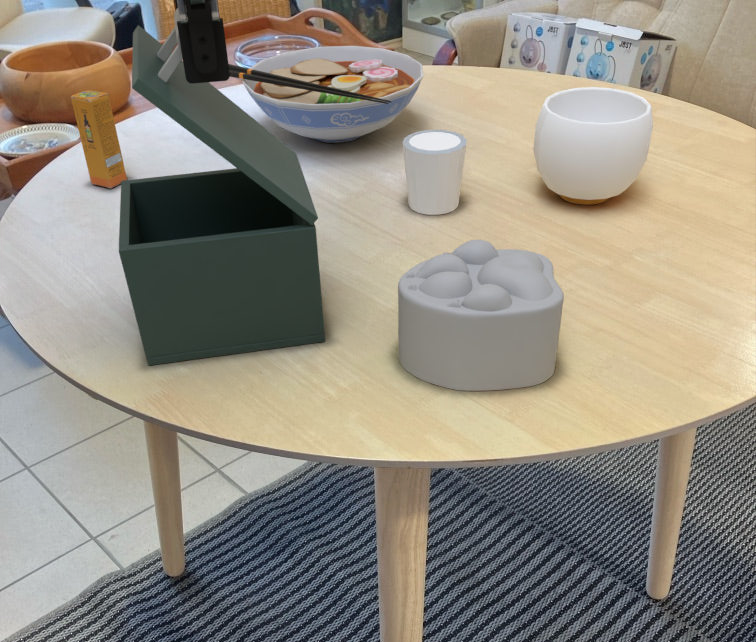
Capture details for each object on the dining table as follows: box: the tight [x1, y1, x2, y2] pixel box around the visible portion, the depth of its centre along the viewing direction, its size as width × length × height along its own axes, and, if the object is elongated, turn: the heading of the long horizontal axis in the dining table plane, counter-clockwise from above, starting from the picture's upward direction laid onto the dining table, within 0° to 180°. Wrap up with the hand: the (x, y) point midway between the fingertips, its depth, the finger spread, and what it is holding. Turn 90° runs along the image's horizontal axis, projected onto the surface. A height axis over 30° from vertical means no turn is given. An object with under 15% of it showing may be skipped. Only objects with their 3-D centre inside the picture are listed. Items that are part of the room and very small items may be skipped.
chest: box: [118, 167, 326, 366], centre depth 76 cm, size 16×14×11 cm
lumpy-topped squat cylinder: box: [397, 239, 565, 392], centre depth 71 cm, size 10×13×9 cm
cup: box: [532, 86, 654, 206], centre depth 93 cm, size 12×12×10 cm
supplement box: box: [70, 89, 128, 189], centre depth 99 cm, size 3×3×10 cm
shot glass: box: [402, 129, 468, 216], centre depth 93 cm, size 7×7×7 cm
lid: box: [131, 5, 319, 225], centre depth 68 cm, size 16×14×5 cm
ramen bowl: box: [228, 45, 424, 144], centre depth 109 cm, size 25×23×8 cm
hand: (205, 64), depth 65 cm, fingers closed on lid, 6 cm apart
